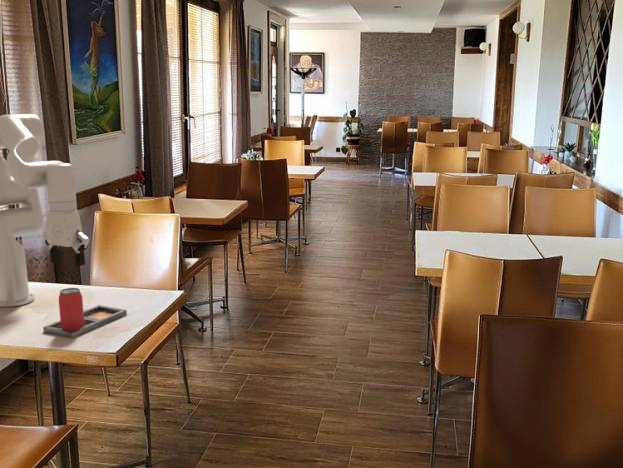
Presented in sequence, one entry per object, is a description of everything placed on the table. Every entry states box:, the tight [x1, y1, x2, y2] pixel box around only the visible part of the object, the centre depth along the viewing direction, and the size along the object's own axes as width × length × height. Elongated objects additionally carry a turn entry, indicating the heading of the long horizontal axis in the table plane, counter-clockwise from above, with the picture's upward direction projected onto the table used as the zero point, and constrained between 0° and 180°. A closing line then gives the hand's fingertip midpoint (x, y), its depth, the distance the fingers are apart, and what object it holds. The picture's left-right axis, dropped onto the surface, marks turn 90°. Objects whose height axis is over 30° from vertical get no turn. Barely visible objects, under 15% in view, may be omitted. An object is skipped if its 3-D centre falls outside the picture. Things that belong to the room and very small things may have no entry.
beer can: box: [58, 287, 85, 331], centre depth 189 cm, size 7×7×12 cm
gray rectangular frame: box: [42, 304, 128, 339], centre depth 194 cm, size 12×23×2 cm, turn 154°
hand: (67, 263), depth 186 cm, fingers open, 9 cm apart
